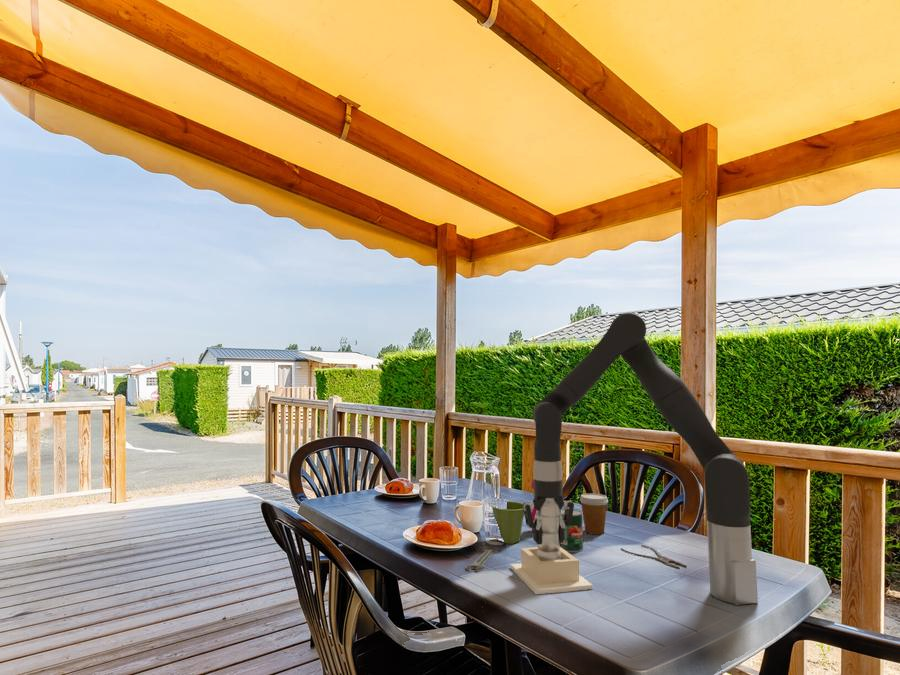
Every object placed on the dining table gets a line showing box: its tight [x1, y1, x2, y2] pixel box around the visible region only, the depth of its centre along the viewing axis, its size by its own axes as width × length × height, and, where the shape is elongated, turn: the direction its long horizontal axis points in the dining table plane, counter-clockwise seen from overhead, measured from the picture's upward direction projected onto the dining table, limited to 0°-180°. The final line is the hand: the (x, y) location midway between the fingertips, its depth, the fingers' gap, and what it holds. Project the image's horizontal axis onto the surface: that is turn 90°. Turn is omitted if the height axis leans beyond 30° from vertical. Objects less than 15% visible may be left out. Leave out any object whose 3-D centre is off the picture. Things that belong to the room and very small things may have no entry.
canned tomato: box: [559, 508, 584, 553], centre depth 154 cm, size 8×8×11 cm
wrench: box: [466, 545, 499, 573], centre depth 144 cm, size 5×20×1 cm, turn 159°
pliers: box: [620, 544, 688, 570], centre depth 147 cm, size 10×1×20 cm
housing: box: [510, 546, 593, 595], centre depth 130 cm, size 18×15×6 cm
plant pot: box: [490, 500, 525, 545], centre depth 162 cm, size 12×12×11 cm
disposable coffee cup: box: [579, 493, 609, 535], centre depth 172 cm, size 10×10×12 cm
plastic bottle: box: [536, 498, 562, 561], centre depth 131 cm, size 6×7×20 cm
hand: (549, 542), depth 131 cm, fingers closed on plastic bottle, 5 cm apart
